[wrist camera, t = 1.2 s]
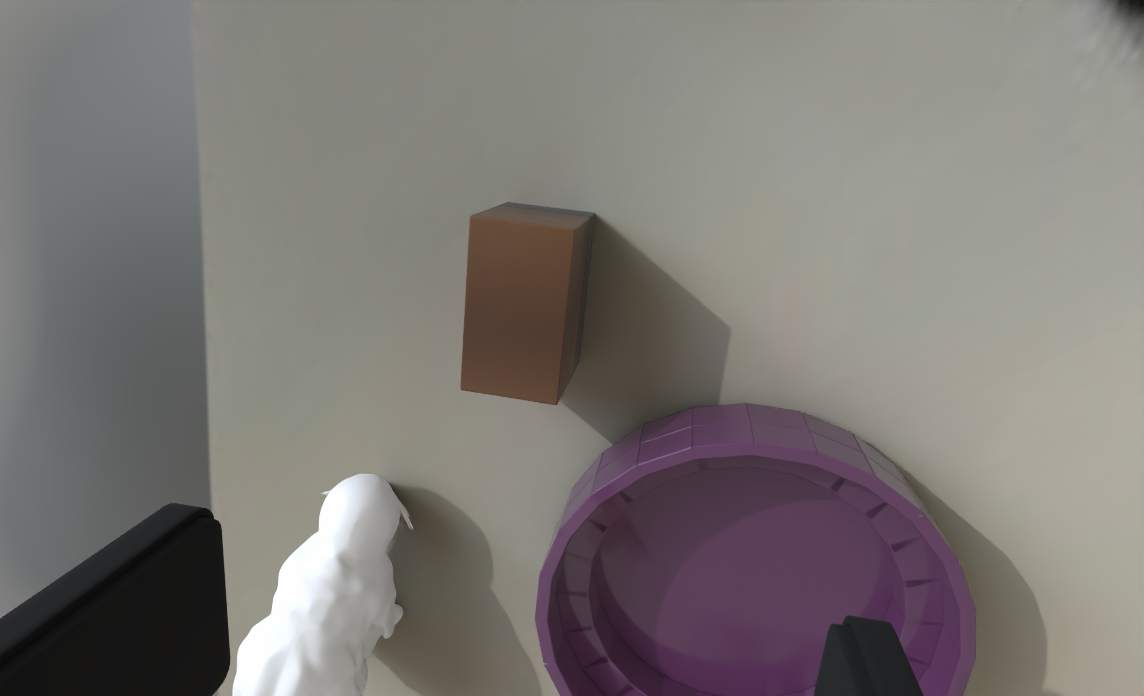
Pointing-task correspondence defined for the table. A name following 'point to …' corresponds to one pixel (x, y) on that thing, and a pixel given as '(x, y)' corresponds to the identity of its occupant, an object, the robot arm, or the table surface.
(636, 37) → the table surface
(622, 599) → the bowl
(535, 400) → the brown rectangular block
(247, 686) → the white lumpy piece
